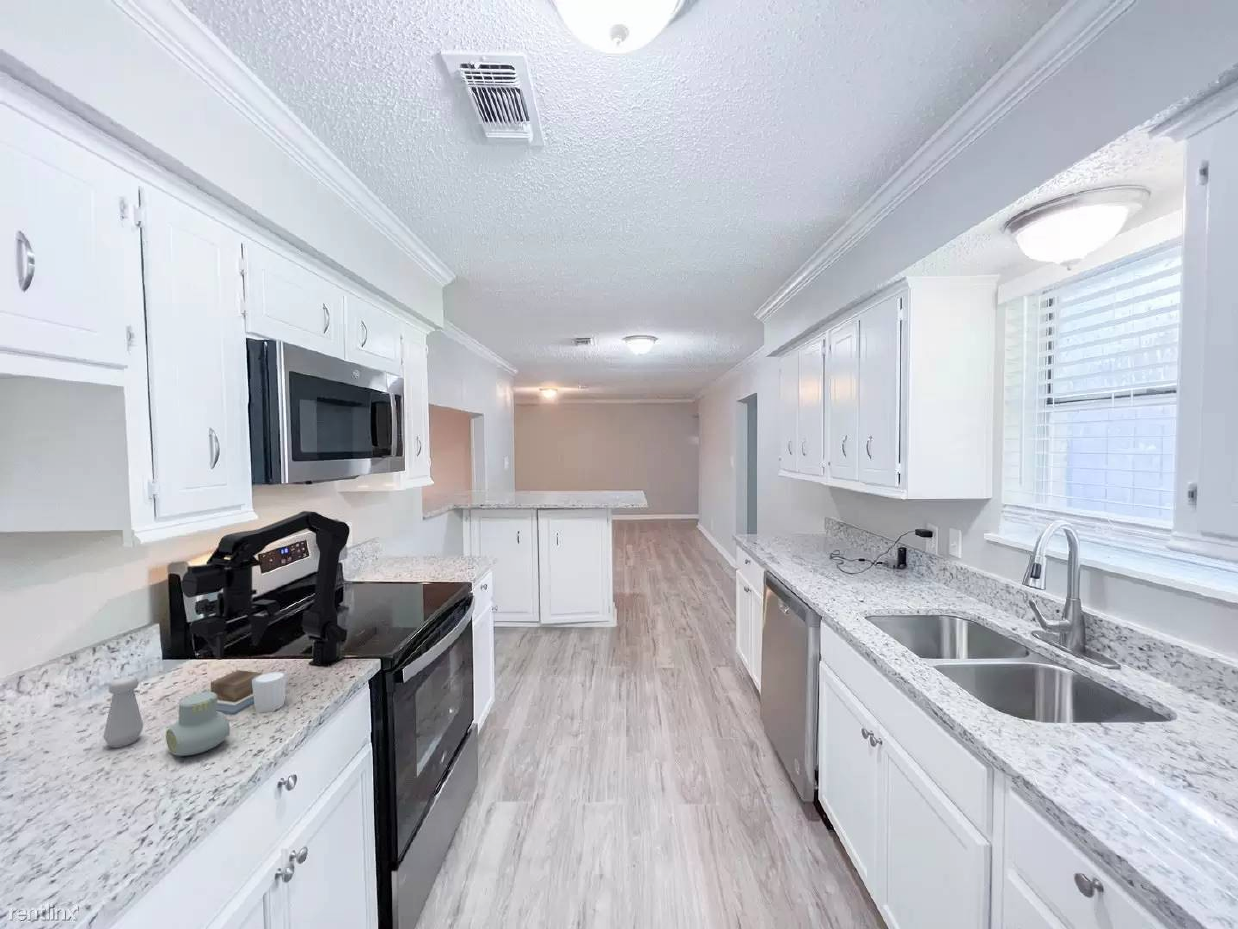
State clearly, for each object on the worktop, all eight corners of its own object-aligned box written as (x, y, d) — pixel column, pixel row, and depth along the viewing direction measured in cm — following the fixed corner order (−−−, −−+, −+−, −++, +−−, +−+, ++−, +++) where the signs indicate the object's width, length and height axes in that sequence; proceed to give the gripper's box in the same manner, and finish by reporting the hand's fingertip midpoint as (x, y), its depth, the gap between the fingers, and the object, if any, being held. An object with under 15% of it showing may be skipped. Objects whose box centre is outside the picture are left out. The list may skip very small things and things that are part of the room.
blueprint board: (239, 681, 133) (239, 678, 133) (285, 687, 130) (285, 684, 130) (183, 707, 119) (183, 704, 119) (233, 714, 116) (233, 711, 116)
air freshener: (162, 747, 103) (162, 698, 103) (213, 730, 110) (213, 683, 110) (181, 767, 97) (181, 714, 97) (233, 747, 104) (233, 698, 103)
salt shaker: (98, 745, 103) (98, 680, 103) (135, 731, 108) (135, 670, 108) (111, 753, 101) (110, 687, 100) (148, 739, 106) (148, 676, 106)
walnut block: (261, 689, 127) (261, 673, 127) (235, 702, 120) (235, 685, 120) (238, 686, 128) (238, 670, 128) (210, 699, 122) (210, 682, 122)
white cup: (248, 716, 116) (248, 685, 115) (255, 702, 122) (255, 673, 122) (284, 710, 118) (284, 680, 118) (289, 697, 125) (289, 668, 124)
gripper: (245, 576, 134) (245, 635, 135) (169, 595, 116) (169, 664, 116) (281, 578, 132) (281, 639, 132) (210, 598, 114) (209, 669, 114)
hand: (237, 652), depth 124 cm, fingers open, 9 cm apart
